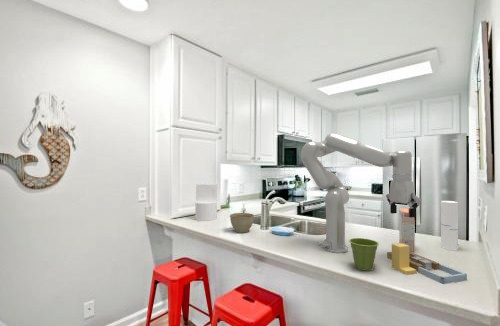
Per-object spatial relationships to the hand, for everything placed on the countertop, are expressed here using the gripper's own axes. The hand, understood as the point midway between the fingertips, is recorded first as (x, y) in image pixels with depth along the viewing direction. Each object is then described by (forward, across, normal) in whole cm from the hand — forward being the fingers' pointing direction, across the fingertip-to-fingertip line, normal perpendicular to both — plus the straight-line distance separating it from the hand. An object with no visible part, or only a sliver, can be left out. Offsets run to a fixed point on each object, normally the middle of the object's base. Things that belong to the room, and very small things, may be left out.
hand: (402, 215), depth 115 cm
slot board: (+22, +4, +1) cm, 22 cm away
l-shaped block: (+22, +9, -9) cm, 25 cm away
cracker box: (+22, -13, +17) cm, 30 cm away
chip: (+21, +10, 0) cm, 23 cm away
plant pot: (+22, -1, -22) cm, 31 cm away
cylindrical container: (+22, -8, +41) cm, 47 cm away
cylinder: (+21, -118, -74) cm, 141 cm away
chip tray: (+22, +17, 0) cm, 28 cm away
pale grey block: (+21, +6, +1) cm, 22 cm away
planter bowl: (+21, -73, -56) cm, 95 cm away
